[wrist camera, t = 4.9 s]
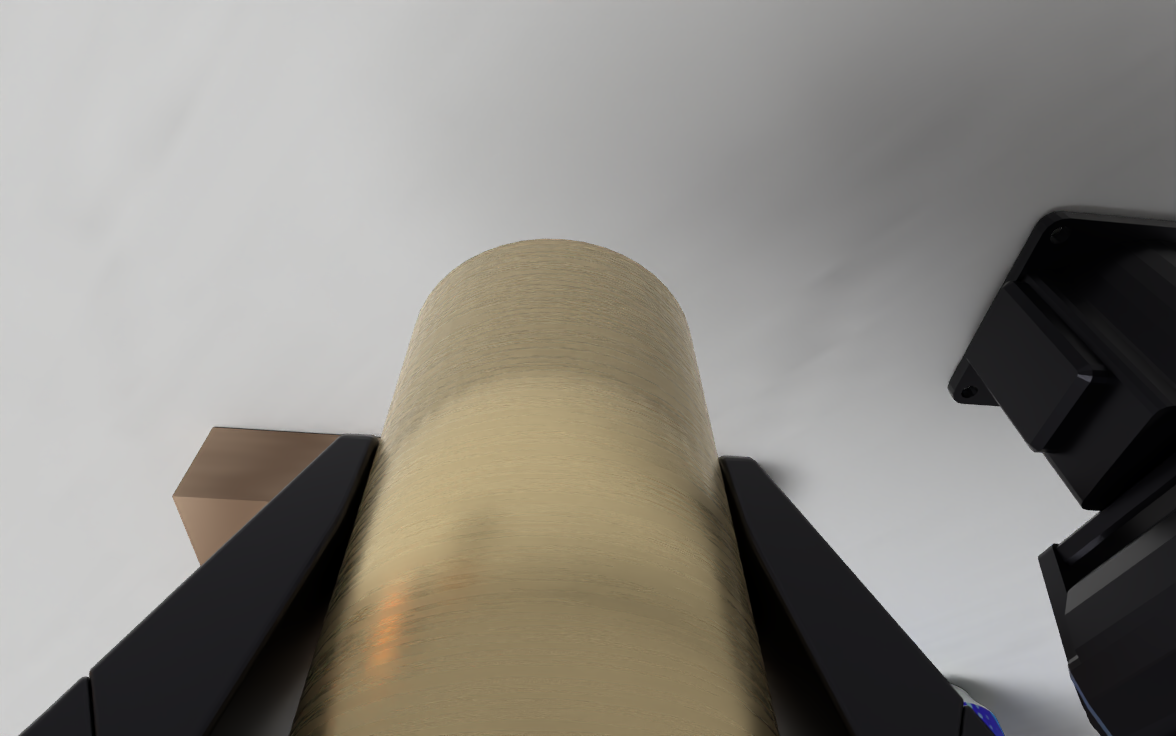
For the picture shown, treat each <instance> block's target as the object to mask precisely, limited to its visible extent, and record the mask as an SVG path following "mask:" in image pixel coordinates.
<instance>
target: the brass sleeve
mask: <svg viewBox="0 0 1176 736" xmlns="http://www.w3.org/2000/svg"><path fill="white" fill-rule="evenodd" d="M289 736H780V734H779V730H778V725H777V721H776V716H775V712H774V707H773V703H772V698H771V694H770V689H769V685H768V680H767V676H766V671H765V667H764V662H763V658H762V653H761V649H760V644H759V640H758V635H757V631H756V626H755V622H754V617H753V613H752V608H751V604H750V599H749V595H748V590H747V586H746V581H745V577H744V572H743V568H742V563H741V559H740V555H739V550H738V546H737V541H736V537H735V532H734V528H733V523H732V519H731V514H730V510H729V505H728V501H727V496H726V492H725V487H724V483H723V478H722V474H721V469H720V465H719V460H718V456H717V451H716V447H715V442H714V438H713V433H712V429H711V424H710V420H709V415H708V411H707V406H706V402H705V397H704V393H703V388H702V384H701V379H700V375H699V370H698V366H697V361H696V357H695V352H694V348H693V343H692V339H691V334H690V330H689V327H688V324H687V321H686V318H685V315H684V313H683V311H682V309H681V308H680V306H679V304H678V302H677V300H676V299H675V298H674V296H673V295H672V294H671V292H670V291H669V290H668V288H667V287H666V286H665V285H664V284H663V283H662V282H661V281H660V280H659V279H658V278H657V277H656V276H655V275H653V274H652V273H651V272H649V271H648V270H647V269H645V268H644V267H643V266H641V265H640V264H638V263H636V262H635V261H633V260H631V259H629V258H627V257H626V256H624V255H622V254H619V253H617V252H614V251H612V250H609V249H607V248H604V247H601V246H597V245H593V244H589V243H585V242H579V241H572V240H565V239H537V240H527V241H520V242H515V243H511V244H506V245H502V246H499V247H496V248H493V249H491V250H488V251H485V252H483V253H481V254H479V255H477V256H475V257H473V258H471V259H469V260H467V261H465V262H464V263H463V264H461V265H460V266H458V267H457V268H455V269H454V270H452V271H451V272H450V273H449V274H448V275H447V276H446V277H445V278H444V279H443V280H441V281H440V282H439V283H438V285H437V286H436V287H435V288H434V290H433V291H432V292H431V293H430V295H429V296H428V298H427V300H426V301H425V303H424V305H423V307H422V308H421V310H420V313H419V316H418V319H417V321H416V324H415V327H414V331H413V334H412V337H411V340H410V344H409V347H408V350H407V353H406V357H405V360H404V363H403V366H402V370H401V373H400V376H399V379H398V382H397V386H396V389H395V392H394V395H393V399H392V402H391V405H390V408H389V412H388V415H387V418H386V421H385V425H384V428H383V431H382V434H381V438H380V441H379V444H378V447H377V451H376V454H375V457H374V460H373V464H372V467H371V470H370V473H369V477H368V480H367V483H366V486H365V490H364V493H363V496H362V499H361V503H360V506H359V509H358V512H357V516H356V519H355V522H354V525H353V529H352V532H351V535H350V538H349V542H348V545H347V548H346V551H345V555H344V558H343V561H342V564H341V568H340V571H339V574H338V577H337V581H336V584H335V587H334V590H333V594H332V597H331V600H330V603H329V607H328V610H327V613H326V616H325V620H324V623H323V626H322V629H321V633H320V636H319V639H318V642H317V646H316V649H315V652H314V655H313V659H312V662H311V665H310V668H309V672H308V675H307V678H306V681H305V684H304V688H303V691H302V694H301V697H300V701H299V704H298V707H297V710H296V714H295V717H294V720H293V723H292V727H291V730H290V733H289Z"/></svg>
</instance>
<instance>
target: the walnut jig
mask: <svg viewBox="0 0 1176 736" xmlns="http://www.w3.org/2000/svg"><path fill="white" fill-rule="evenodd" d="M339 436H341V435H328V434H312V433H296V432H279V431H263V430H247V429H231V428H214V427H213V428H212V430H211V432H210V433H209V435H208V437H207V438H206V440H205V442H204V443H203V445H202V447H201V448H200V450H199V452H198V454H197V455H196V457H195V459H194V460H193V462H192V464H191V465H190V467H189V469H188V471H187V472H186V474H185V476H184V477H183V479H182V481H181V482H180V484H179V486H178V487H177V489H176V491H175V493H174V494H173V496H172V497H173V499H174V502H175V504H176V507H177V509H178V512H179V514H180V516H181V519H182V521H183V524H184V526H185V529H186V531H187V534H188V536H189V538H190V541H191V543H192V546H193V548H194V551H195V553H196V556H197V558H198V561H199V563H200V565H202V564H203V563H205V562H206V561H207V560H208V559H209V558H210V557H211V556H212V555H213V554H214V553H215V552H216V551H217V550H218V549H219V548H221V547H222V546H223V545H224V544H225V543H226V542H227V541H228V540H229V539H230V538H231V537H232V536H233V535H234V534H235V533H237V532H238V531H239V530H240V529H241V528H242V527H243V526H244V525H245V524H246V523H247V522H248V521H249V520H250V519H251V518H253V517H254V516H255V515H256V514H257V513H258V512H259V511H260V510H261V509H262V508H263V507H264V506H265V505H266V504H267V503H269V502H270V501H271V500H272V499H273V498H274V497H275V496H276V495H277V494H278V493H279V492H280V491H281V490H282V489H283V488H285V487H286V486H287V485H288V484H289V483H290V482H291V481H292V480H293V479H294V478H295V477H296V476H297V475H298V474H299V473H301V472H302V471H303V470H304V469H305V468H306V467H307V466H308V465H309V464H310V463H311V462H312V461H313V460H314V459H315V458H317V457H318V456H319V455H320V454H321V453H322V452H323V451H324V450H325V449H326V448H327V447H328V446H329V445H330V444H331V443H333V442H334V441H335V440H336V439H337V438H338V437H339ZM378 439H379V441H380V438H378Z"/></svg>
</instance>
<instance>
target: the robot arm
mask: <svg viewBox="0 0 1176 736" xmlns="http://www.w3.org/2000/svg"><path fill="white" fill-rule="evenodd" d="M1060 227H1062V229H1061V230H1060V231H1059V232H1058V233H1057V234H1056V235H1054V236H1051V234H1052V233H1053V232H1054V231H1055V230H1056V229H1058V228H1060ZM968 386H970V387H969V388H967V389H964V388H966V387H968ZM948 390H949V392H950V394H951V396H952V397H953V399H954V400H955V401H956V402H958V403H962V404H974V405H989V406H1000V407H1001V408H1002V410H1003V411H1004V412H1005V414H1006V415H1007V417H1008V418H1009V419H1010V421H1011V422H1012V424H1013V425H1014V426H1015V428H1016V429H1017V431H1018V432H1019V434H1020V435H1021V436H1022V438H1023V439H1024V441H1025V442H1026V443H1027V445H1028V446H1029V448H1030V449H1031V450H1032V451H1034V452H1041V453H1043V454H1044V456H1045V457H1046V459H1047V460H1048V461H1049V463H1050V464H1051V465H1052V467H1053V468H1054V470H1055V471H1056V472H1057V474H1058V475H1059V477H1060V478H1061V479H1062V481H1063V482H1064V483H1065V485H1066V486H1067V488H1068V489H1069V490H1070V492H1071V493H1072V495H1073V496H1074V497H1075V499H1076V500H1077V501H1078V503H1079V504H1080V506H1081V507H1082V508H1083V509H1086V510H1095V511H1100V512H1099V513H1097V514H1096V515H1095V516H1094V517H1092V518H1091V519H1090V520H1089V521H1087V522H1086V523H1085V524H1084V525H1083V526H1081V527H1080V528H1079V529H1078V530H1076V531H1075V532H1074V533H1073V534H1071V535H1070V536H1069V537H1068V538H1066V539H1065V540H1064V541H1063V542H1061V543H1060V544H1053V545H1052V546H1050V547H1049V548H1048V549H1047V550H1045V551H1044V552H1043V553H1042V554H1040V555H1039V556H1038V560H1039V564H1040V567H1041V571H1042V574H1043V578H1044V581H1045V584H1046V588H1047V591H1048V595H1049V598H1050V602H1051V605H1052V609H1053V612H1054V616H1055V619H1056V623H1057V626H1058V630H1059V633H1060V637H1061V640H1062V644H1063V647H1064V651H1065V654H1066V657H1067V661H1068V668H1069V673H1070V677H1071V680H1072V681H1073V683H1074V685H1075V688H1076V691H1077V693H1078V696H1079V699H1080V701H1081V704H1082V706H1083V708H1084V710H1085V711H1086V714H1087V717H1088V719H1089V721H1090V723H1091V724H1092V726H1093V727H1094V728H1095V729H1096V730H1097V731H1098V733H1099V734H1100V735H1101V736H1176V222H1174V221H1163V220H1152V219H1141V218H1130V217H1119V216H1108V215H1097V214H1086V213H1075V212H1064V211H1060V212H1053V213H1051V214H1048V215H1046V216H1045V217H1044V218H1042V219H1041V220H1040V221H1039V222H1038V223H1037V224H1036V226H1035V227H1034V229H1033V231H1032V233H1031V234H1030V236H1029V238H1028V240H1027V242H1026V244H1025V245H1024V247H1023V249H1022V251H1021V253H1020V254H1019V256H1018V258H1017V260H1016V262H1015V264H1014V265H1013V267H1012V269H1011V271H1010V273H1009V274H1008V276H1007V278H1006V280H1005V282H1004V284H1003V285H1002V287H1001V289H1000V290H999V292H998V294H997V296H996V298H995V299H994V301H993V303H992V305H991V307H990V308H989V310H988V312H987V314H986V316H985V318H984V319H983V321H982V323H981V325H980V327H979V329H978V330H977V332H976V334H975V336H974V338H973V339H972V341H971V343H970V345H969V347H968V349H967V350H966V352H965V354H964V356H963V358H962V360H961V362H960V364H959V365H958V367H957V369H956V371H955V373H954V375H953V376H952V378H951V380H950V382H949V384H948ZM378 444H379V439H378V438H377V437H376V436H374V435H364V434H343V435H341V436H339V437H338V438H337V439H336V440H335V441H334V442H333V443H331V444H330V445H329V446H328V447H327V448H326V449H325V450H324V451H323V452H322V453H321V454H320V455H319V456H318V457H317V458H315V459H314V460H313V461H312V462H311V463H310V464H309V465H308V466H307V467H306V468H305V469H304V470H303V471H302V472H301V473H299V474H298V475H297V476H296V477H295V478H294V479H293V480H292V481H291V482H290V483H289V484H288V485H287V486H286V487H285V488H283V489H282V490H281V491H280V492H279V493H278V494H277V495H276V496H275V497H274V498H273V499H272V500H271V501H270V502H269V503H267V504H266V505H265V506H264V507H263V508H262V509H261V510H260V511H259V512H258V513H257V514H256V515H255V516H254V517H253V518H251V519H250V520H249V521H248V522H247V523H246V524H245V525H244V526H243V527H242V528H241V529H240V530H239V531H238V532H237V533H235V534H234V535H233V536H232V537H231V538H230V539H229V540H228V541H227V542H226V543H225V544H224V545H223V546H222V547H221V548H219V549H218V550H217V551H216V552H215V553H214V554H213V555H212V556H211V557H210V558H209V559H208V560H207V561H206V562H205V563H203V564H202V565H201V566H200V567H199V568H198V569H197V570H196V571H195V572H194V573H193V574H192V575H191V576H190V577H189V578H187V579H186V580H185V581H184V582H183V583H182V584H181V585H180V586H179V587H178V588H177V589H176V590H175V591H174V592H173V593H171V594H170V595H169V596H168V597H167V598H166V599H165V600H164V601H163V602H162V603H161V604H160V605H159V606H158V607H157V608H156V609H154V610H153V611H152V612H151V613H150V614H149V615H148V616H147V617H146V618H145V619H144V620H143V621H142V622H141V623H140V624H138V625H137V626H136V627H135V628H134V629H133V630H132V631H131V632H130V633H129V634H128V635H127V636H126V637H125V638H124V639H122V640H121V641H120V642H119V643H118V644H117V645H116V646H115V647H114V648H113V649H112V650H111V651H110V652H109V653H108V654H106V655H105V656H104V657H103V658H102V659H101V660H100V661H99V662H98V663H97V664H96V665H95V666H94V667H93V668H92V669H91V670H90V673H89V677H90V678H89V677H82V678H80V679H79V680H78V681H77V682H76V683H75V684H74V685H73V686H72V687H71V688H70V689H69V690H68V691H67V692H65V693H64V694H63V695H62V696H61V697H60V698H59V699H58V700H57V701H56V702H55V703H54V704H53V705H52V706H50V707H49V708H48V709H47V710H46V711H45V712H44V713H43V714H42V715H41V716H40V717H38V718H37V719H36V720H35V721H34V722H33V723H32V724H31V725H30V726H29V727H27V728H26V729H25V730H24V731H23V732H22V733H21V734H20V735H19V736H289V733H290V730H291V727H292V723H293V720H294V717H295V714H296V710H297V707H298V704H299V701H300V697H301V694H302V691H303V688H304V684H305V681H306V678H307V675H308V672H309V668H310V665H311V662H312V659H313V655H314V652H315V649H316V646H317V642H318V639H319V636H320V633H321V629H322V626H323V623H324V620H325V616H326V613H327V610H328V607H329V603H330V600H331V597H332V594H333V590H334V587H335V584H336V581H337V577H338V574H339V571H340V568H341V564H342V561H343V558H344V555H345V551H346V548H347V545H348V542H349V538H350V535H351V532H352V529H353V525H354V522H355V519H356V516H357V512H358V509H359V506H360V503H361V499H362V496H363V493H364V490H365V486H366V483H367V480H368V477H369V473H370V470H371V467H372V464H373V460H374V457H375V454H376V451H377V447H378ZM718 460H719V465H720V469H721V474H722V478H723V483H724V487H725V492H726V496H727V501H728V505H729V510H730V514H731V519H732V523H733V528H734V532H735V537H736V541H737V546H738V550H739V555H740V559H741V563H742V568H743V572H744V577H745V581H746V586H747V590H748V595H749V599H750V604H751V608H752V613H753V617H754V622H755V626H756V631H757V635H758V640H759V644H760V649H761V653H762V658H763V662H764V667H765V671H766V676H767V680H768V685H769V689H770V694H771V698H772V703H773V707H774V712H775V716H776V721H777V725H778V730H779V734H780V736H996V735H995V734H994V733H993V732H992V731H991V730H990V728H989V727H988V726H987V725H986V724H985V723H984V722H983V720H982V719H981V718H980V717H979V716H978V715H977V714H976V712H975V711H974V710H973V709H972V708H971V707H970V706H968V705H965V706H964V701H963V698H962V697H961V696H960V694H959V693H958V692H957V691H956V690H955V689H954V688H953V686H952V685H951V684H950V683H949V682H948V681H947V680H946V678H945V677H944V676H943V675H942V674H941V673H940V672H939V670H938V669H937V668H936V667H935V666H934V665H933V664H932V662H931V661H930V660H929V659H928V658H927V657H926V656H925V654H924V653H923V652H922V651H921V650H920V649H919V647H918V646H917V645H916V644H915V643H914V642H913V641H912V639H911V638H910V637H909V636H908V635H907V634H906V633H905V631H904V630H903V629H902V628H901V627H900V626H899V625H898V623H897V622H896V621H895V620H894V619H893V618H892V617H891V615H890V614H889V613H888V612H887V611H886V610H885V609H884V607H883V606H882V605H881V604H880V603H879V602H878V600H877V599H876V598H875V597H874V596H873V595H872V594H871V592H870V591H869V590H868V589H867V588H866V587H865V586H864V584H863V583H862V582H861V581H860V580H859V579H858V578H857V576H856V575H855V574H854V573H853V572H852V571H851V570H850V568H849V567H848V566H847V565H846V564H845V563H844V562H843V560H842V559H841V558H840V557H839V556H838V555H837V554H836V552H835V551H834V550H833V549H832V548H831V547H830V545H829V544H828V543H827V542H826V541H825V540H824V539H823V537H822V536H821V535H820V534H819V533H818V532H817V531H816V529H815V528H814V527H813V526H812V525H811V524H810V523H809V521H808V520H807V519H806V518H805V517H804V516H803V515H802V513H801V512H800V511H799V510H798V509H797V508H796V507H795V505H794V504H793V503H792V502H791V501H790V500H789V498H788V497H787V496H786V495H785V494H784V493H783V492H782V490H781V489H780V488H779V487H778V486H777V485H776V484H775V482H774V481H773V480H772V479H771V478H770V477H769V476H768V474H767V473H766V472H765V471H764V470H763V469H762V468H761V466H760V465H759V464H758V463H757V462H756V461H755V460H753V459H752V458H750V457H739V456H721V457H719V458H718Z"/></svg>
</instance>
